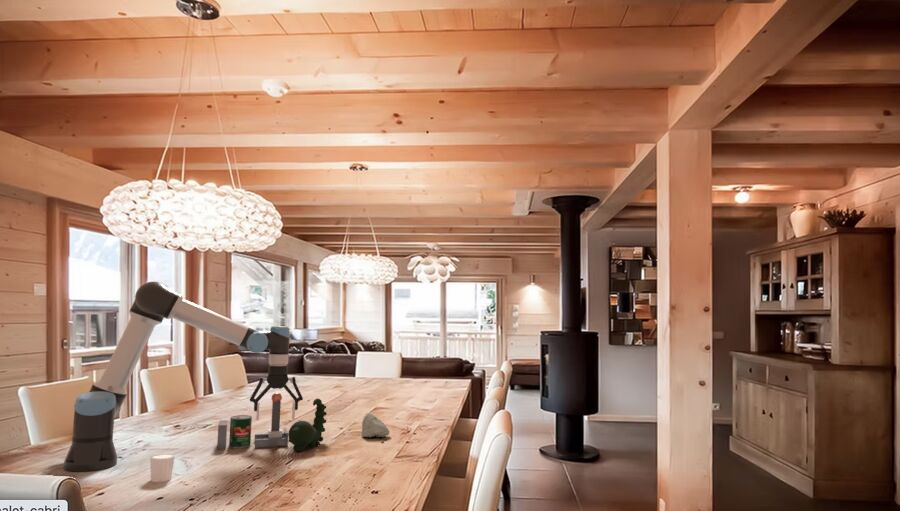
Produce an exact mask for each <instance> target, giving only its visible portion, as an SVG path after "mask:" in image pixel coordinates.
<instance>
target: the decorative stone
mask: <svg viewBox="0 0 900 511" xmlns="http://www.w3.org/2000/svg"><path fill="white" fill-rule="evenodd" d="M361 426H362V428H361V437H362V438H365V437H369V438H373V437H374V438H379V437H382V438H385V437H386V436H389V434H390V430H389V428H388V426H387V425H386V424H385V423H384V422H383V421H382V420H381V419H380V418H378V417H377V416H376V415H374V414H372V413H366V414H365V416H364V417H363V419H362V423H361ZM375 436H376V437H375Z"/></svg>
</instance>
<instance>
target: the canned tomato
mask: <svg viewBox="0 0 900 511" xmlns="http://www.w3.org/2000/svg"><path fill="white" fill-rule="evenodd" d="M252 418H253V417H252V416H251V415H245V414H244V415H243V414H241V415H239V414H238V415H232V416H230V419H229V420H230V421H229V422H230V424H229V441H228V447H229V448H232V449H243V448H244V447H245V448H248V447H250V446H251V441H252V440H251V439H252V438H251V437H252V421H253V420H252Z"/></svg>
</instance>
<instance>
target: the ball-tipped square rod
mask: <svg viewBox="0 0 900 511" xmlns="http://www.w3.org/2000/svg"><path fill="white" fill-rule="evenodd" d="M282 400H283V396H282V394H281V393H279V392H274V393H273V394H272V396H271V401H272V402H271V403H272V404H271V406H272V407H271V420H270V421H271V424H270V425H271V426H270V427H269V428H268V429H267V434H268V439H271V438H282V433H283V429H282V427H280V426H281V424H280V423H281V406H282V405H281V404H282V403H281V402H282Z"/></svg>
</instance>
